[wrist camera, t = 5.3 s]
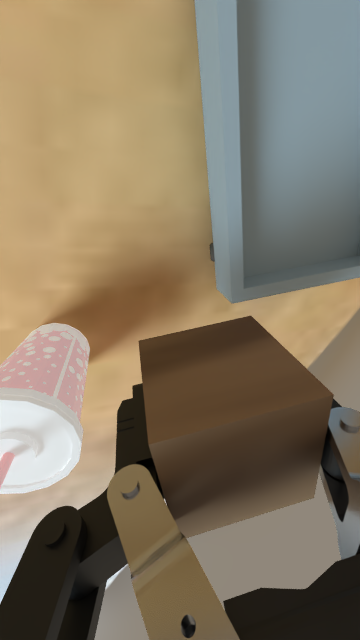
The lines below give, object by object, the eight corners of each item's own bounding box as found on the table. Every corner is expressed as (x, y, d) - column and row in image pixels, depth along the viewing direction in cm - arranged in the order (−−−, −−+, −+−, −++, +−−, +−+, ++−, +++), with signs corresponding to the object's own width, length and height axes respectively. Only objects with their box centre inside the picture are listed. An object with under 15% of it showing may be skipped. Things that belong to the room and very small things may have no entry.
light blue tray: (176, -91, 12) (201, -247, 8) (391, -98, 13) (513, -236, 9) (209, 283, 20) (230, 303, 16) (340, 257, 21) (391, 270, 17)
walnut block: (138, 340, 11) (148, 444, 6) (250, 315, 11) (333, 394, 7) (159, 422, 13) (177, 540, 8) (252, 398, 13) (313, 497, 9)
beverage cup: (-4, 352, 19) (-267, 651, 6) (50, 296, 18) (-135, 519, 5) (66, 393, 21) (-22, 662, 9) (116, 347, 20) (97, 575, 8)
